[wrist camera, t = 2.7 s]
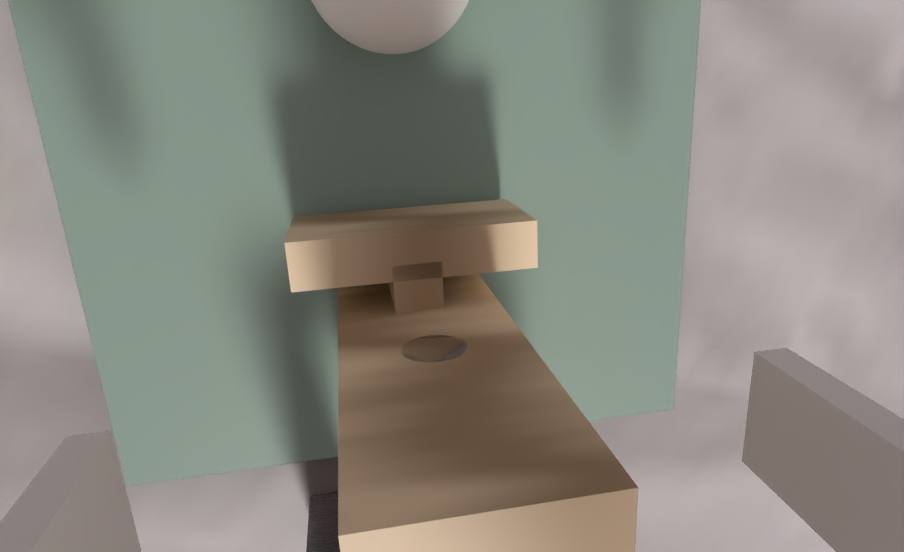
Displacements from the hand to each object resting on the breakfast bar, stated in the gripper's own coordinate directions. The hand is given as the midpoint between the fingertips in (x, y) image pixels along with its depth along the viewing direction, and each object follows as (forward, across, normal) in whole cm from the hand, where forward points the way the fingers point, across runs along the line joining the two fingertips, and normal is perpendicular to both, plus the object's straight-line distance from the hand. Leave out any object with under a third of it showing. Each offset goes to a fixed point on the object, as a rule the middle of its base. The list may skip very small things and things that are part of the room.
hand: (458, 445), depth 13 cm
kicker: (+6, 0, -6) cm, 9 cm away
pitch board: (+8, 0, +6) cm, 10 cm away
